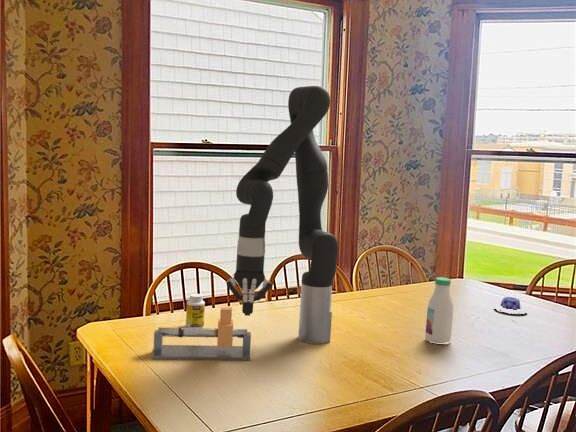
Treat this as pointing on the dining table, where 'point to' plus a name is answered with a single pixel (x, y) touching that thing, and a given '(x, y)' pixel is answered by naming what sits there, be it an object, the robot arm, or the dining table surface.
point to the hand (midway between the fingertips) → (247, 314)
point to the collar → (225, 328)
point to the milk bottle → (440, 313)
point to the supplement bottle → (195, 311)
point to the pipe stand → (196, 350)
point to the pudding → (510, 303)
